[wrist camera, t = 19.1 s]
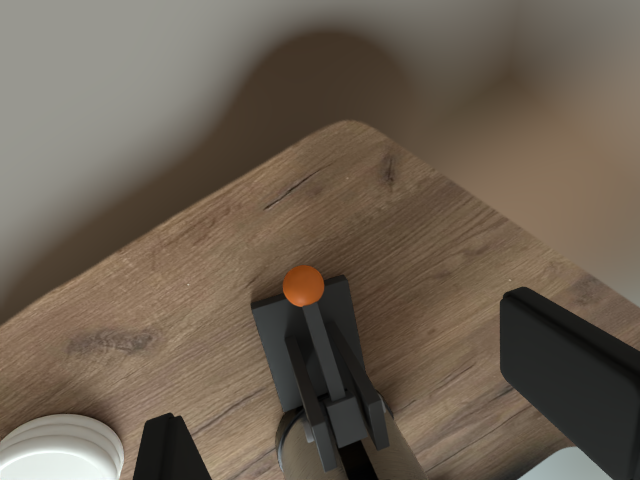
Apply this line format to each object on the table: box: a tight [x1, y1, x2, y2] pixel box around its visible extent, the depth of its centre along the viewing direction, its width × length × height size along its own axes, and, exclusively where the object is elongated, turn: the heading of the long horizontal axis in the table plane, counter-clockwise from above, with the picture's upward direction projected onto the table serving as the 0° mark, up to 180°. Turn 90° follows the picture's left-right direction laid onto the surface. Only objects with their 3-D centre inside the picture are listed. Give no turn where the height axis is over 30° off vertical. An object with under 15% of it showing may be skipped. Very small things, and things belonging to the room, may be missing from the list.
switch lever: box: [283, 265, 368, 448], centre depth 27 cm, size 13×3×3 cm
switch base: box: [251, 275, 390, 472], centre depth 30 cm, size 12×9×12 cm
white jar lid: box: [0, 414, 124, 480], centre depth 31 cm, size 10×10×4 cm
